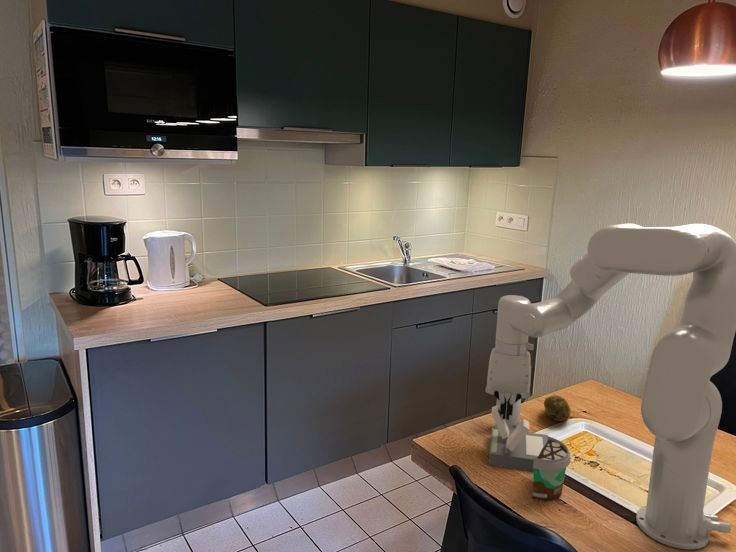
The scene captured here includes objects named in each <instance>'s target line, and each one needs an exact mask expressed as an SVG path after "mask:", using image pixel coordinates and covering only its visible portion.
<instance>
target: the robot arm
mask: <svg viewBox="0 0 736 552" xmlns="http://www.w3.org/2000/svg"><path fill="white" fill-rule="evenodd" d="M586 250H587V253H585V254H584V255H583V256H582V257H581V258H580V259H578V260H577V261H576V262H575V263H574V264H572V266H571V267H570V270H569V276H570V279H571V281H570V282H569V283H568V284H567V285H566V286H565V287H564V288H563V289H562V290H561V291H559V292H558V293H557V294H555V296H554V297H552V298H549V299H546V300H543V301H538V302H533V303H532V302H531V301H530V299H528V298H527V297H525V296H523V295H516V294H514V295H513V294H511V295H509V294H508V295H503V296H501V297H500V298H499V300H498V302H497V303H498V304H497V318H496V330H495V331H496V332H495V346H494V347H493V348H492V349H491V352H490V354H489V355H490V356H489V361H488V368H487V379H486V381H487V382H486V386H485V390H484V391H485V393H487V394H490V395H492V396H494V397H495V398H496V400H497V399H498V400H499V401H500V403H501V406H500V414H503V418H502V419H505V418H506V419H507V420H509V415H511V416H512V412H513V405H514V403H515V402H517V401H518V400H520V399H521V400H522V399H529V398H530V397H531V391H530V390H531V389H530V388H531V376H532V375H531V374H532V362H531V361H532V359H531V353H530V352H529V351H534V348H535V344H534V343H530V341H529V337H531V338H541V337H544V336H545V337H546V336H547V335H551V334H553V333H556V332H560V331H562V330H564V329H566V328H568V327H569V326H571V325H573V324H574V323H575V322H576V321H578V319H580V318H581V317H582V316H584V315H586V313H587V312H589V311H590V310H591V309H592V308H593V307H594V306H595V305H596V303H597V302H598V301H600V299H601V297H602V296H603V295H604V294H606V293H607V292H608V291H609V290H610V289H612V288H613V287H614V286H615V285H617V284H619V282H620V281H621V280H623V279H624V278H625V277H627V276H628V275H629V274H638V275H640V274H641V275H651V276H652V275H653V276H665V277H666V276H667V277H668V276H669V277H670V276H671V277H675V276H678V277H679V276H683V275H688V274H691V273H692V281H691V283H690V287H689V288H688V290H687V294H686V296H685V301H684V307H683V310H682V315H681V319H680V321H679V324H678V327H676V328H675V329H673V330H672V331H669V332H668V333H666V334H665V335H663V336H662V337H661V338H660V339H659V341H658V342H656V345H655V346H654V349H653V351H652V354H651V357H650V360H649V365H648V369H647V374H646V378H645V382H644V387H643V391H642V396H641V401H640V402H641V403H640V413H641V419H642V422H643V424H644V425H645V426H646V429H647V430H648V431H649V432H650V433H651V434H652V435H654V436H655V439H654V445H653V450H652V457H651V467H650V474H649V475H650V476H649V482H648V483H649V484H648V491H647V492H648V493H647V500H646V505H645V506H641V507H640V508H639V509H638V510H637V511H636V519H635V520H636V523H637V525H638V527H639V528H640V529H641V530H642V532H644V533H645V534H646V535H647V536H649V538H651V539H653V540H655V541H657V542H659V543H660V544H664V545H666V546H669V547H672V548H675V549H680V550H699V549H702V548H704V547H706V546H707V545H708V543H709V540H710V533H712V531H714V532H717V533H724V534H731V531H732V529H731V528H732V527H731V524H730V522H727V521H720V520H719V517H718V516H719V515H717V514H716V515H715V514H712V513H711V514H710V513H709V514H708V513H705V512H704V506H705V500H706V495H707V487H708V480H709V474H710V467H711V462H712V456H713V449H714V444H715V440H716V436H717V431H718V427H719V425H720V420H721V415H722V410H723V401H722V397H721V393H720V391H719V390H718V388H717V386H716V385H715V384H714V383H713V382H712V381H711V378H712V377H713V375H715V374H717V373H719V371H721V370H722V369H724V368H725V366H726V365H727V364H728V362H729V359H730V357H731V352H732V347H733V343H734V338H735V334H736V240H735V239H734V238H733V237H732V236H731V235H730V234H729V233H727V232H726V231H724V230H722V229H720V228H719V227H716V226H714V225H710V224H706V223H690V224H683V225H677V226H657V227H656V226H654V227H653V226H652V227H651V226H649V227H646V226H645V227H644V226H641V225H639V224H636V223H620V224H611V225H606V226H603V227H601V228H599V229H598V230H596V231H595V232H594V233H593V234H592V236H591V237H590V239H589V241H588V242H587V249H586ZM504 392H506V393H511V395H510V398H509V399H508V401H506V398H505V393H504ZM506 405H507V412H506Z"/></svg>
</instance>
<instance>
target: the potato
mask: <svg viewBox="0 0 736 552" xmlns="http://www.w3.org/2000/svg"><path fill="white" fill-rule="evenodd" d="M543 406H544V410H545V413H546V414H547V415H548V418H549V419H550V420H554V421H556V422H565V421H567V420H568V419H569V417H570V416H571V415H572V414H571V413H572V410H571V407H570V404H569V403H568V401H567V400H566V399H565V398H563V397H561V396H559V395H555V394H554V395H550V396H547V397H546V398H545V399H544V402H543Z"/></svg>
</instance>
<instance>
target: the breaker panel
mask: <svg viewBox="0 0 736 552" xmlns="http://www.w3.org/2000/svg"><path fill="white" fill-rule="evenodd" d="M512 433H513V430H509V437H510V435H511V434H512ZM490 435H491V436H490V444H489V457H488V466H494V467H500V468H507V469H514V470H521V471H528V472H534V468H533V464H534V458H538V456H539V454H540V452H541V450H542V448H543V447H544V446H545V445H546V443H547V441H548V436H549V434H543V433H535V432H529V431H528V432H527V434H526V435H525V436H524V437H523V439H522V440H521V441H520V442H519V444H518V445H517V446H516V447H515V449H514V450H513V451H511V450H509V454H508V455H506V454H505V444H506V442H505V441H506V438H504V439H502V436H501V434H500V432H499V429H497V428H495V427H491V433H490Z"/></svg>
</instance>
